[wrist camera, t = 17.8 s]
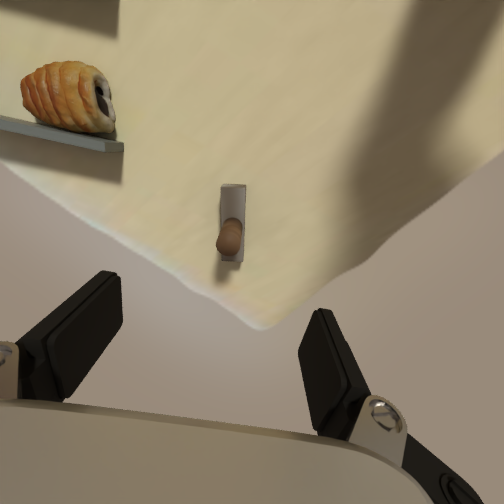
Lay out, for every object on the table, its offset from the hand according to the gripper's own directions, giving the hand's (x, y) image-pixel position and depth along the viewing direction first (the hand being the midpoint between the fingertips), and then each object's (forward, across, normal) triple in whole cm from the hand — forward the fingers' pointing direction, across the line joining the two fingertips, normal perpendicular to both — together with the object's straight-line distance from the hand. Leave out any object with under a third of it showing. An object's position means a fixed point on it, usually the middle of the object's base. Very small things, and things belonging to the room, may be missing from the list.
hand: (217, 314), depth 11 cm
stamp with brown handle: (+23, 0, +3) cm, 23 cm away
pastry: (+23, +20, -8) cm, 32 cm away
